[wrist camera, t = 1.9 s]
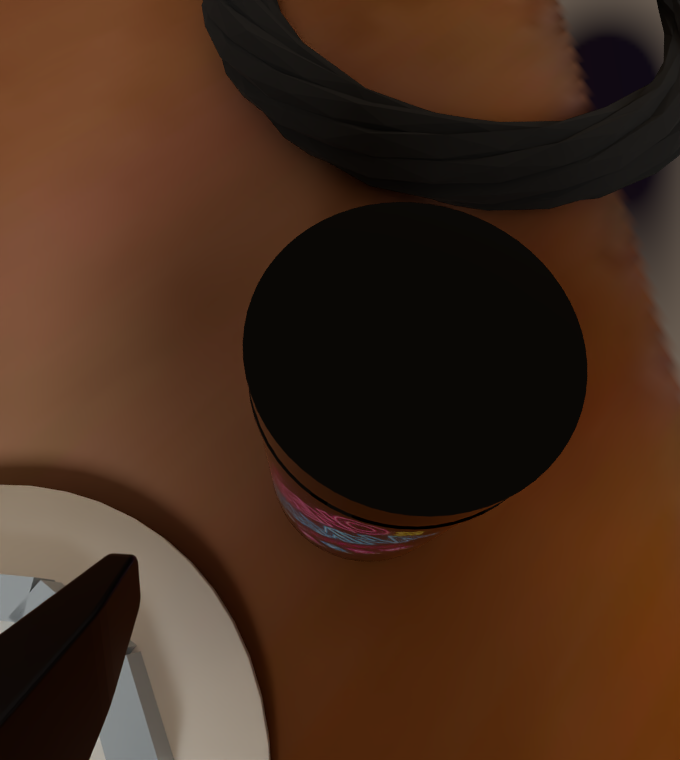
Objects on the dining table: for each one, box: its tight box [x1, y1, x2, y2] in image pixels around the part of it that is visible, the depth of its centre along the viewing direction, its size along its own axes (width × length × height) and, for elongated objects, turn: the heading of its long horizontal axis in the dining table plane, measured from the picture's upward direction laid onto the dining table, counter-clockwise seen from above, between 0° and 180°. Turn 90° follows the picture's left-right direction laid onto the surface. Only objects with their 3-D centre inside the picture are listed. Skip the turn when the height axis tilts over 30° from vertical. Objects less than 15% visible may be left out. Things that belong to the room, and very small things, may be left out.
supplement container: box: [243, 202, 587, 562], centre depth 16 cm, size 7×7×10 cm
